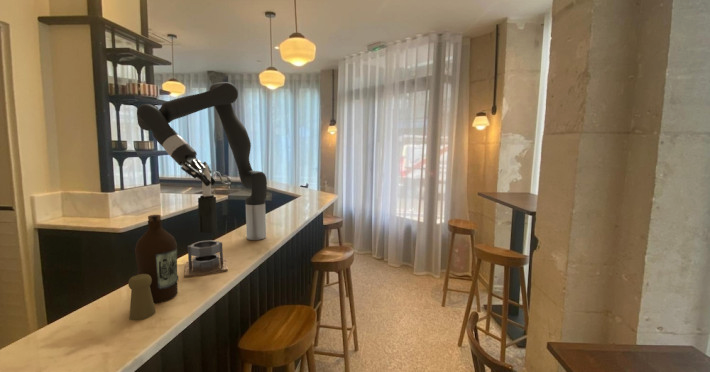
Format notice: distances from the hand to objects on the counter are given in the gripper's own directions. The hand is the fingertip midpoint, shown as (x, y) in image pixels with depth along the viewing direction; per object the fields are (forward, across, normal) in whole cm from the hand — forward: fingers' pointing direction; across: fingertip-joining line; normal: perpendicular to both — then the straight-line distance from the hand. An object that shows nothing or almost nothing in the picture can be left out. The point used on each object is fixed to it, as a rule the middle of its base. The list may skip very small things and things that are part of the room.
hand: (211, 183), depth 119 cm
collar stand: (+21, -2, +24) cm, 32 cm away
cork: (+22, -36, +23) cm, 48 cm away
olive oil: (+21, -26, +25) cm, 41 cm away
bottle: (+11, 0, +14) cm, 18 cm away
